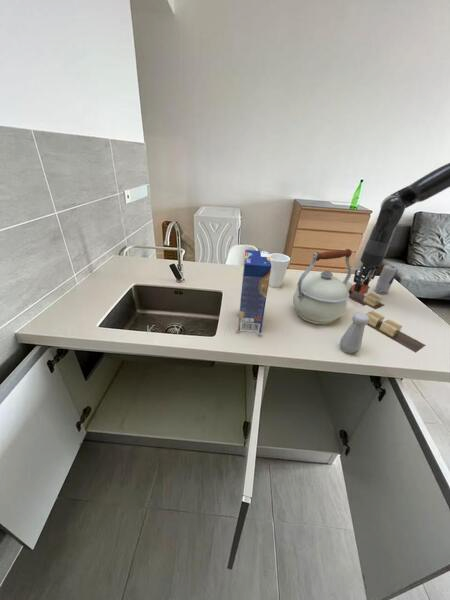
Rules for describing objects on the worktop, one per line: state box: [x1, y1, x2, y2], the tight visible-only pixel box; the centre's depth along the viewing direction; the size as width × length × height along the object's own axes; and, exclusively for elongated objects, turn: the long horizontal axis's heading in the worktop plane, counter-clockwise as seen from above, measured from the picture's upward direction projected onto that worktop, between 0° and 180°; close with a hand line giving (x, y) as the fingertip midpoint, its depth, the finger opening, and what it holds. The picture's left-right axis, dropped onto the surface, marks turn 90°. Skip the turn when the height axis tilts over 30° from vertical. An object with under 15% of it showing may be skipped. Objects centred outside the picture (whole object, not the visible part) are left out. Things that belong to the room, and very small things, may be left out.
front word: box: [365, 310, 427, 353], centre depth 83 cm, size 7×20×4 cm, turn 32°
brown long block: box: [345, 281, 386, 311], centre depth 103 cm, size 7×20×4 cm, turn 32°
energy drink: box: [374, 264, 399, 295], centre depth 107 cm, size 5×5×12 cm
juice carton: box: [237, 249, 271, 334], centre depth 79 cm, size 12×8×24 cm, turn 175°
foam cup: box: [268, 252, 291, 288], centre depth 108 cm, size 10×9×13 cm
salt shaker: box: [339, 311, 369, 355], centre depth 72 cm, size 6×6×13 cm
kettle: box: [292, 248, 354, 325], centre depth 86 cm, size 25×18×25 cm
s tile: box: [351, 283, 370, 295], centre depth 102 cm, size 4×4×3 cm
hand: (359, 289), depth 102 cm, fingers closed on s tile, 4 cm apart
